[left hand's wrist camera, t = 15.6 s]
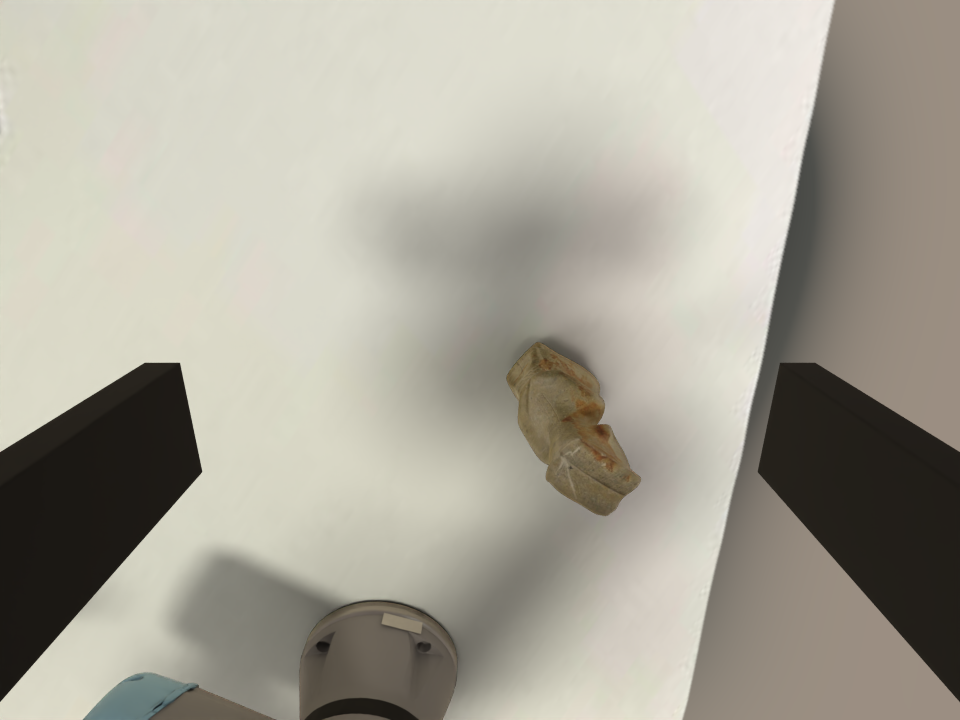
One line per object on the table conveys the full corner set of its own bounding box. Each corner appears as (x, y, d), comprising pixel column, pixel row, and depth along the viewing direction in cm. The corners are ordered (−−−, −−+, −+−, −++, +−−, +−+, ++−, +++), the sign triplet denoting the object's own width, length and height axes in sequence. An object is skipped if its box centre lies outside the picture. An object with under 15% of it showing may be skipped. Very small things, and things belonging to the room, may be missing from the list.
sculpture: (558, 425, 46) (592, 544, 32) (492, 373, 44) (498, 475, 30) (607, 375, 44) (667, 478, 30) (541, 319, 42) (572, 401, 28)
